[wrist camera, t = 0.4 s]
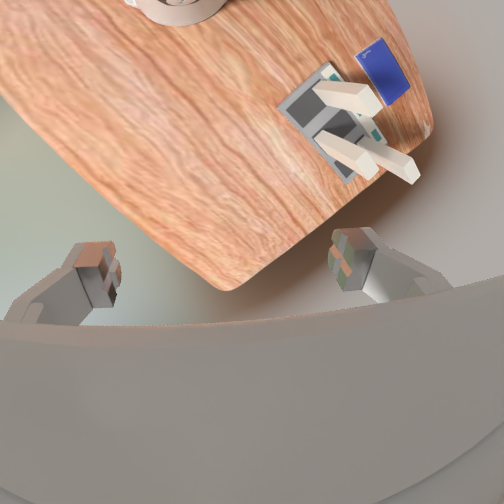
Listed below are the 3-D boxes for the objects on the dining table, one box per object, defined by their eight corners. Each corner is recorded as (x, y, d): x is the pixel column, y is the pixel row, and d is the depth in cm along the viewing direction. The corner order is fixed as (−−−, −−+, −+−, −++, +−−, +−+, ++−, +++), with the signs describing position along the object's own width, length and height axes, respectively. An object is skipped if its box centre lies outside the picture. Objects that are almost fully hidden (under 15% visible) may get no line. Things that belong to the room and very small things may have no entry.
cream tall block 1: (325, 105, 42) (372, 117, 31) (311, 88, 40) (356, 94, 29) (334, 96, 41) (383, 107, 30) (320, 80, 39) (367, 84, 28)
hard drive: (356, 56, 37) (388, 106, 44) (382, 37, 35) (411, 86, 42) (351, 56, 39) (383, 105, 45) (377, 37, 36) (406, 85, 43)
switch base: (343, 182, 53) (347, 184, 52) (275, 107, 42) (278, 108, 41) (384, 141, 49) (388, 143, 48) (325, 61, 38) (329, 61, 37)
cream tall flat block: (326, 153, 47) (368, 180, 36) (313, 138, 45) (354, 161, 34) (335, 145, 47) (379, 169, 35) (322, 129, 44) (366, 150, 33)
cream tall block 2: (366, 157, 49) (411, 184, 38) (356, 143, 47) (402, 167, 36) (374, 150, 49) (420, 175, 37) (364, 135, 46) (412, 157, 35)
